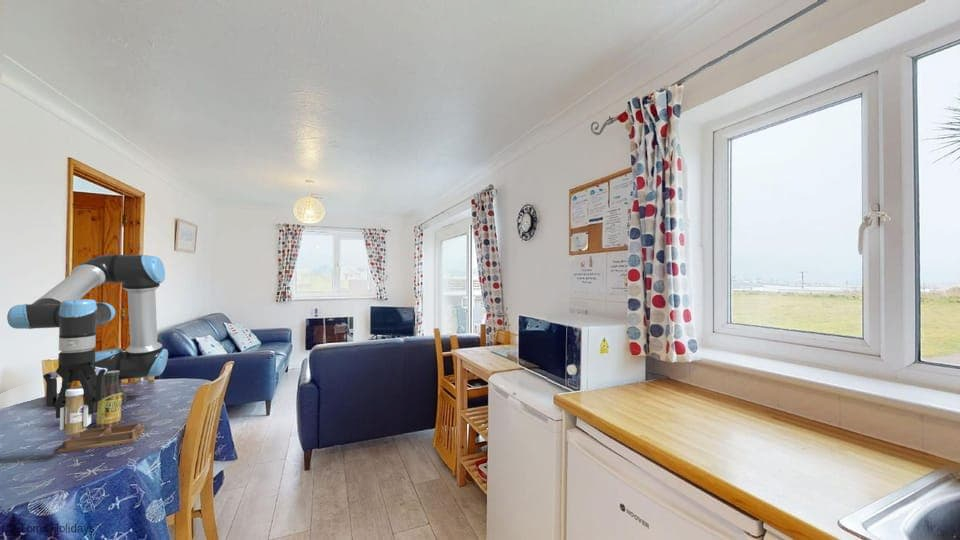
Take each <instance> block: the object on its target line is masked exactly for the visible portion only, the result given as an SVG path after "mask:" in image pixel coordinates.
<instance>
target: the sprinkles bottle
mask: <svg viewBox="0 0 960 540" xmlns="http://www.w3.org/2000/svg"><path fill="white" fill-rule="evenodd" d="M65 396H66V404H65V405H66V406H65V405H64V406H65V429H64V434H65V435H67V436H68V435H70V436H72V435H73V434H76V433H80V432H83V431H85V430H87V426H86V427H83V416H84V405H85V404H87V403H86V402H87V401H86V397H85V394H84V391H83V387H82V386H81V385H80V386H79V385H78V386H73V387H71V388H69V389H67V390H66V392H65Z"/></svg>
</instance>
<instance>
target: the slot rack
mask: <svg viewBox="0 0 960 540" xmlns="http://www.w3.org/2000/svg"><path fill="white" fill-rule="evenodd" d="M147 428H148V427H147V426H143V422H136V423H130V424H121V425H116V426H113V427H106V428H92V429H86V430H85V431H83V432H80V433H76V434H72V435H70V436H69V437H68V438H67V439H65V440H63V441H62V447H60V448H59V449H58V450H56V451H55V455H62V454H69V453H74V452H81V451H88V449H89V450H93V448H95V449H100V448H99V447H102V448H107V447H106V446H108V447H114V446H113V445H115V446H121V445H120V444H122V445H127V444H126V443H128V444H132V442H133V443H135V442H136V440H137V439H138V438H139V437H140V436H141V435H143V433H144V432H145V431H146V430H147Z"/></svg>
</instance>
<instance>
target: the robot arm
mask: <svg viewBox="0 0 960 540" xmlns="http://www.w3.org/2000/svg"><path fill="white" fill-rule="evenodd" d="M165 278H166V270H165V265H164V263H163V261H162V259H160V257H158V256H156V255H147V254H105V255H98V256H96V257H94V258H91V259H88V260H86V261H83V262H81V263H79V264H78V265H76V266H75V267H74V268H73V269H72V270H71V272H70V275H68V276H67V277H66V278H65V279H63V280H62V281H61V282H59V283H58V284H57V285H55V286H54V287H52V288H51V289H49V290H48V291H47V292H46V293H44V295H42V296H40V297H39V298H38V299H37V300H35V301H34V302H33V303H31V304H30V303H29V304H28V303H24V304H16V305H13V306H12V307H11V308H9V310H8V312H7V314H6V319H7V324H8V325H9V326H10V327H11V329H21V330H22V329H23V330H24V329H25V330H27V329H28V330H32V329H48V328H49V329H53V328H54V329H55V328H58V330H59V331H58V333H59V334H58V351H60V352H59V353H58V358H57V359H58V361H57V362H58V364H57V365H58V368H56V370H54V371H50V372H48V373H45V374H44V375H42V376H43V379H44V381H45V387H46V392H45V393H46V394H45V395H46V397H45V398H46V407H48V408H50V407H52V408H55V418H56V419H59V431H62V430H65V406H66V396H65V392H66V390H67V389H69V388H72V384H73V383H74V382H76V381H77V382H79V383H80V386H82V387H83V391H84V394H85V397H86V401H87V402H86V403H87V404H85V405H84V416H83V427H86V428H87V427H88V426H89V425H90V424H92V415H94V413H95V412H97V410H98V401H100V400H102V399H103V398H104V394H105V375H106V373H107V372H108V371H120V375H119V385H120V386H121V390H122V393H123V394H122V405H125V404H126V403H127V394H126V392H125V390H124V388H123V386H122V380H130V379H141V378H147V379H148V378H152V377H157V376H158V377H159V376H160V375H162V374H163V372H164V371H165V368H166V366H167V362H168V359H169V358H168V357H169V351H168V349H167V348H163V344H162V343H160V342H159V341H158V328H157V327H158V325H157V300H156V290H157V289H158V288H159V287H160V284H162V283H164V281H165V280H166V279H165ZM108 283H109V284H110V283H111V284H112V283H113V284H114V283H118V284H120V283H121V288H122V289H123V290H124V291H127V302H128V303H127V304H128V319H129V320H128V323H129V338H130V339H129V340H130V342H129V343H130V345H129V346H128V347H127V348H125V351H123V348H119V347H118V348H110V349H104V350H99V351H96V350H95V348H96V347H97V346H96V345H97V344H96V343H97V342H96V338H97V337H96V333H97V332H96V330H97V327H98V326H103V325H105V324H107V323H110V322H111V321H112V320H114V317H115V316H116V310H115V307H114V306H113V305H111V304H109V303H107V302H96V300H95V299H91V298H90V299H89V298H87V299H85V298H84V299H83V297H84V296H86V295H87V294H88V293H89V292H90V291H91V290H92V289H94V288H96V287H100V286H101V285H102V284H108ZM58 376H60V378H62V382H61V386H60V387H61V388H60V389H59V390H60V391H59V394H58V379H57V378H58ZM125 402H126V403H125Z"/></svg>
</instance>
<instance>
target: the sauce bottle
mask: <svg viewBox="0 0 960 540" xmlns="http://www.w3.org/2000/svg"><path fill="white" fill-rule="evenodd" d="M119 375H120V371H108V372H107V373H106V375H105V394H104V398H103V399H102V400H100V401H98V410H97V411H96V429H98V428H106V427H113V426H120V423H121V419H122V405H123V404H122V394H123V393H122V390H121V386H122V385H121V386H120V385H119Z"/></svg>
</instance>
